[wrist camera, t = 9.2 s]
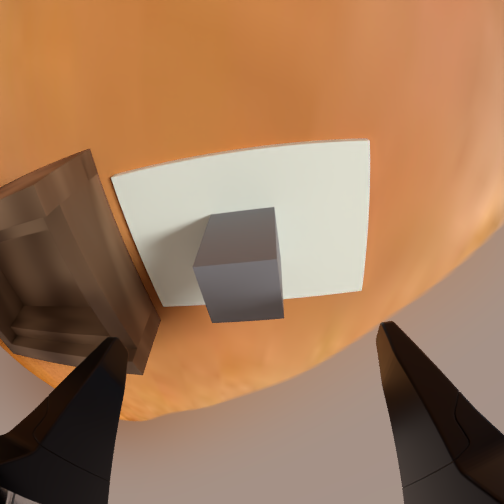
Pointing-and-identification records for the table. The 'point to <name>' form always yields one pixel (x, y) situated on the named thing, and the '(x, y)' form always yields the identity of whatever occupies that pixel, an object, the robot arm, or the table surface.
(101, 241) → the box
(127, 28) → the table surface
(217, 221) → the cover
